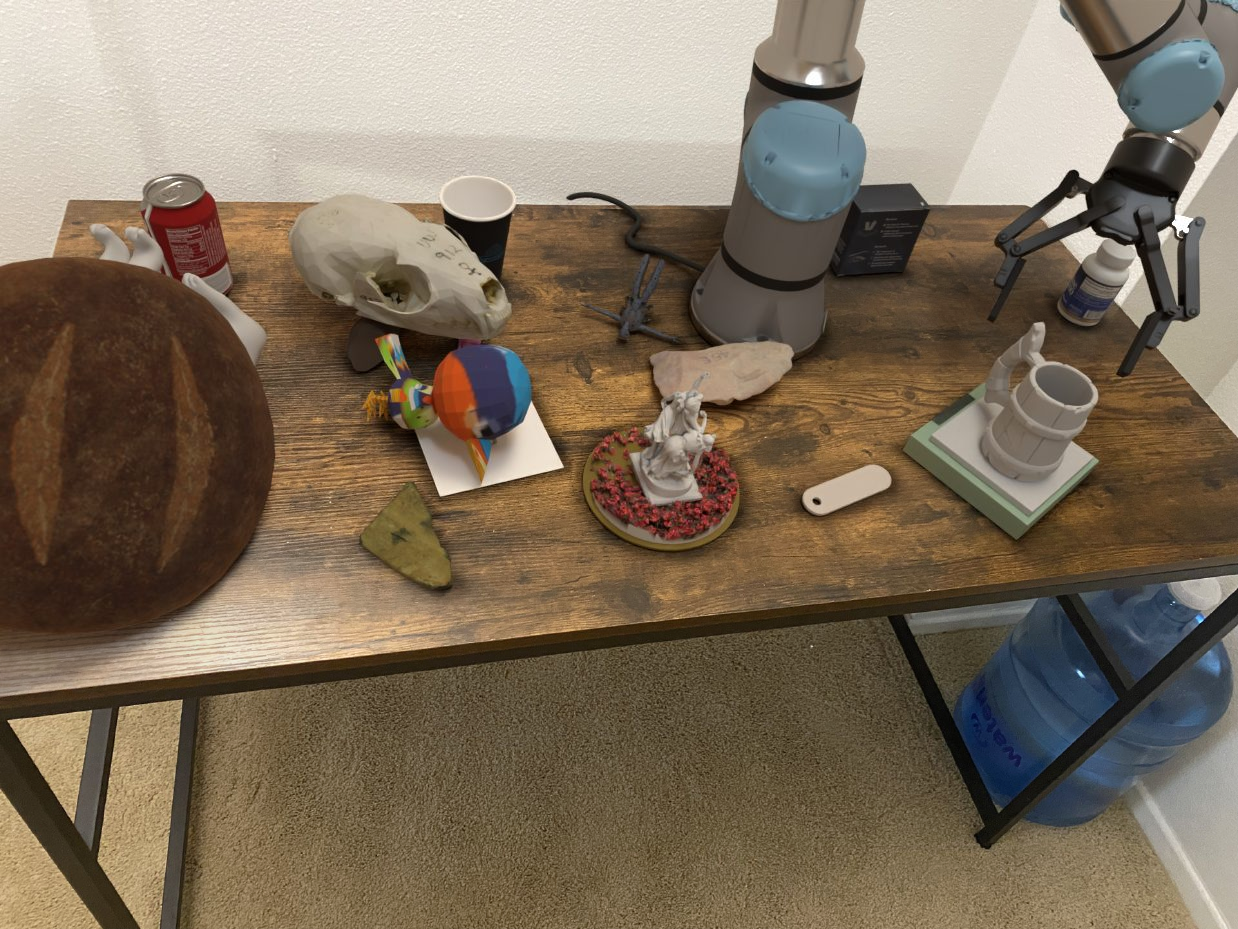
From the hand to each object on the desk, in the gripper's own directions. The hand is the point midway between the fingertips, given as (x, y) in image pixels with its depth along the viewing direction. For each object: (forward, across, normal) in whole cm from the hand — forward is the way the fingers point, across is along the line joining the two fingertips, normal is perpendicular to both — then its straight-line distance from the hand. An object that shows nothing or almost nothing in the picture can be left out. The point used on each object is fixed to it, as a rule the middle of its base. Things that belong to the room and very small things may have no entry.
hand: (1055, 347), depth 94 cm
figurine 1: (+23, +63, +13) cm, 68 cm away
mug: (+11, 0, +2) cm, 11 cm away
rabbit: (+30, +69, +35) cm, 83 cm away
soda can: (+32, +80, +19) cm, 89 cm away
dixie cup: (+19, +58, +6) cm, 62 cm away
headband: (+22, +51, +12) cm, 57 cm away
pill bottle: (-9, -3, -23) cm, 25 cm away
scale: (+13, 0, -1) cm, 13 cm away
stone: (+42, +42, +26) cm, 64 cm away
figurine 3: (+29, +27, +16) cm, 43 cm away
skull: (+25, +58, +18) cm, 66 cm away
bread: (+44, +63, +45) cm, 89 cm away
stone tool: (+20, +35, +9) cm, 41 cm away
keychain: (+21, +13, +8) cm, 26 cm away
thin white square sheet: (+32, +44, +19) cm, 58 cm away
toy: (+34, +53, +24) cm, 68 cm away
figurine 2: (+13, +41, +2) cm, 43 cm away
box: (-4, +23, -18) cm, 29 cm away
